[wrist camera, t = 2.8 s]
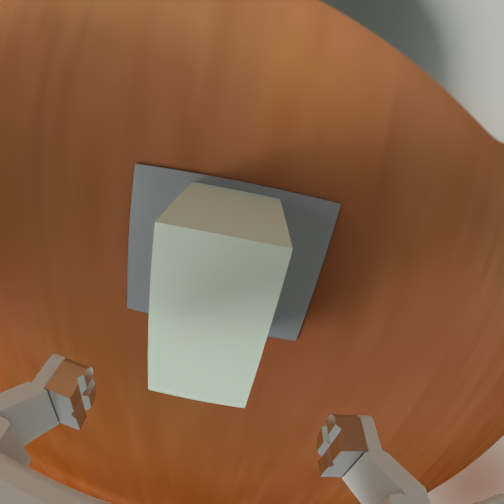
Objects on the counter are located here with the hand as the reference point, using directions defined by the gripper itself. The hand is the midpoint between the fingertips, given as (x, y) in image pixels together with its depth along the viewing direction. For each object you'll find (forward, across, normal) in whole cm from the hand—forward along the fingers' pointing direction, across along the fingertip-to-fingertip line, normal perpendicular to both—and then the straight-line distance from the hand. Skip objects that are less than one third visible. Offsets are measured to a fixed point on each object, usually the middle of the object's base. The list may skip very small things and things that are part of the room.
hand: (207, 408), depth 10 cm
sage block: (+11, +1, 0) cm, 11 cm away
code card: (+11, +1, 0) cm, 11 cm away
